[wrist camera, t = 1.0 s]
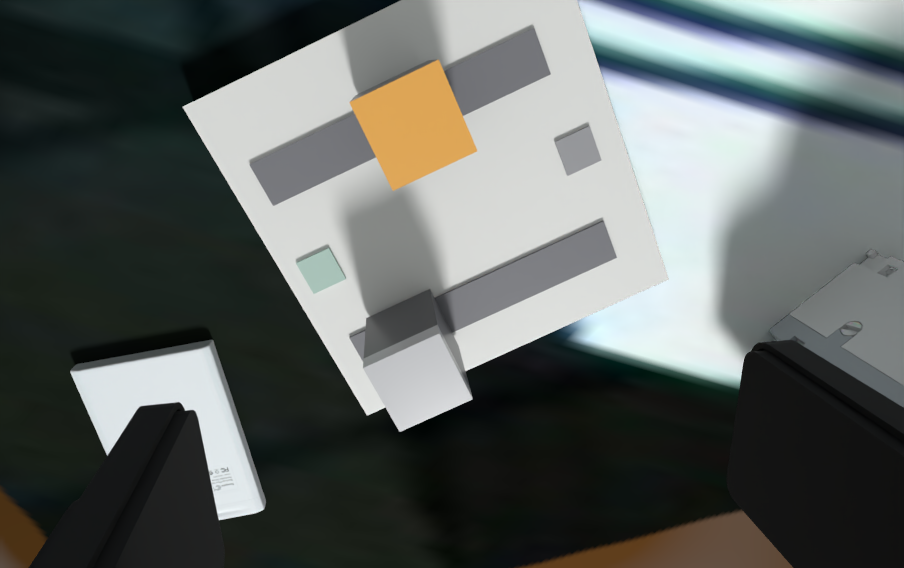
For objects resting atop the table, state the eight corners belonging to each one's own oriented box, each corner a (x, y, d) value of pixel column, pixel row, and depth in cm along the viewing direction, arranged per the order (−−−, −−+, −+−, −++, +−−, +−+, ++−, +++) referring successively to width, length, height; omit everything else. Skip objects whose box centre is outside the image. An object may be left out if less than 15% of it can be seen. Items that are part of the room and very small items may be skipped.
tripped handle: (428, 60, 30) (438, 59, 24) (460, 135, 31) (477, 151, 26) (355, 95, 30) (349, 102, 24) (391, 168, 31) (392, 190, 26)
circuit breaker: (695, 387, 41) (855, 555, 27) (871, 249, 39) (1145, 353, 25) (751, 451, 44) (924, 635, 30) (919, 323, 41) (1194, 457, 27)
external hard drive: (215, 335, 37) (268, 496, 41) (80, 359, 36) (148, 519, 41) (208, 346, 35) (263, 513, 40) (66, 372, 35) (138, 537, 39)
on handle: (430, 288, 34) (439, 333, 28) (458, 345, 35) (472, 398, 30) (366, 318, 34) (362, 368, 28) (397, 373, 35) (399, 431, 30)
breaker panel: (542, -66, 31) (553, -75, 29) (654, 268, 38) (670, 280, 36) (194, 104, 32) (181, 107, 30) (368, 398, 39) (367, 417, 37)
